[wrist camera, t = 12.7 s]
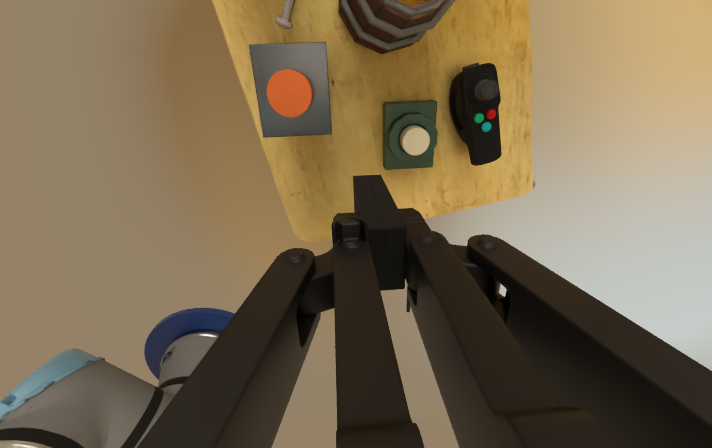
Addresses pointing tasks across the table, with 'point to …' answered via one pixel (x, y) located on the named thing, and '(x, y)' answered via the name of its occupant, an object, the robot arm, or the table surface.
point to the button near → (289, 93)
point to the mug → (391, 21)
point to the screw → (285, 15)
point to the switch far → (396, 121)
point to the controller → (477, 111)
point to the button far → (414, 140)
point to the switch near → (312, 66)
